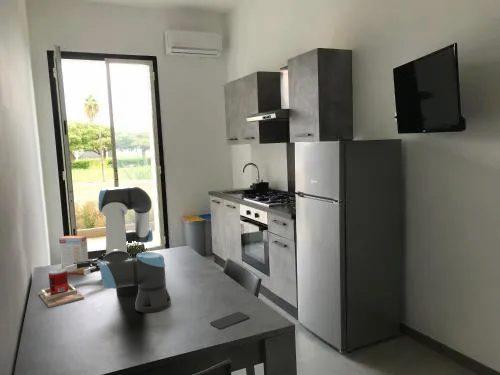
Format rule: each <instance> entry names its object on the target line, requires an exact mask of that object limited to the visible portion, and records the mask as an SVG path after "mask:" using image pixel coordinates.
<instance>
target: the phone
mask: <svg viewBox="0 0 500 375" xmlns="http://www.w3.org/2000/svg"><path fill="white" fill-rule="evenodd" d="M248 318H249V319H250V316H249V315H247V313H246V314H245V313H243V312H242V311H237V312H234V313H232V314H228V315H225V316H223V317H221V318H218V319H216V320H213V321H210V322H209V325H210V324H211V325H210V326H212V325H213V326H212V327H213V328H215V327H216V328H215V329H217V328H218V329H217V330H223V329H225V327H226V328H228V327H231V326H233V324H234V325H236V324H239V323H241V322H243V320H244V321H247V320H249V319H248ZM246 319H247V320H246ZM238 322H239V323H238ZM230 325H231V326H230Z"/></svg>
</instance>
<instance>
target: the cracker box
mask: <svg viewBox="0 0 500 375" xmlns="http://www.w3.org/2000/svg"><path fill="white" fill-rule="evenodd" d="M58 240H59V253H60V254H59V255H60V263H61V268H65V267H68V266H71V265H74V263H76V262H81V261H86V260H89V253H88V252H89V250H88V239H87V236H86V235H65V236H64V235H63V236H61V237H59V238H58ZM89 268H90V267H83V268H77V270H73V271H70V272H67V275H68V274H69V275H84V270H86V269H89Z"/></svg>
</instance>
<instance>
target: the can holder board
mask: <svg viewBox="0 0 500 375" xmlns="http://www.w3.org/2000/svg"><path fill="white" fill-rule="evenodd" d="M40 290H41V291H38V296H39V298H41V300H42V301H43V303H45V305H46V306H47V308H49V309H50V308H54V307H56V306H57V307H58V306H60V305H65V304H70V303H74V302H78V301H82V300H85V296H83V295H82V293H80V291H78V289H76V288H75V287H74V286H73V285H72V284H71V283H68V292H64V293H59V294H55V295H51V293H50V287H48V288H42V289H40Z"/></svg>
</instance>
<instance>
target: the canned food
mask: <svg viewBox="0 0 500 375" xmlns="http://www.w3.org/2000/svg"><path fill="white" fill-rule="evenodd" d="M48 280H49V281H48V282H49V288H50V293H51V295H55V294H59V293H64V292H68V284H69V283H68V274H67V270H66V269H65V268H62V267H59V268H54V269H51V270H49V271H48Z"/></svg>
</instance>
